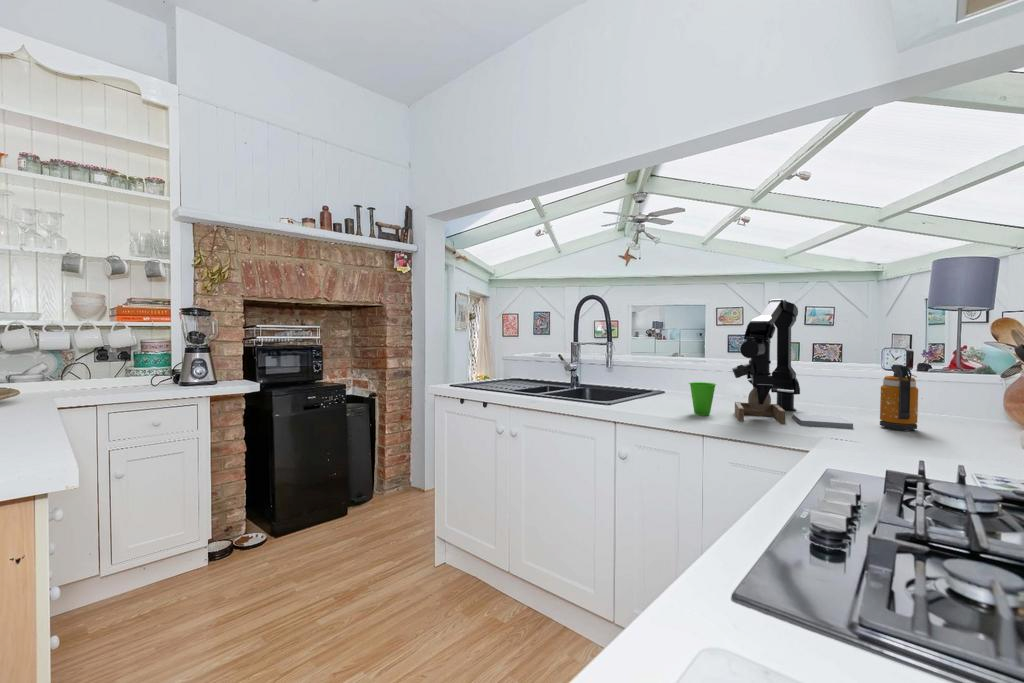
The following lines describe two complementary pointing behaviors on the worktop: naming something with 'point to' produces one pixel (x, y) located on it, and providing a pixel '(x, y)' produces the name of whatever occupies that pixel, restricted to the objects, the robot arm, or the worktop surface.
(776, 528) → the worktop surface
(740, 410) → the holder
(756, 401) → the vase
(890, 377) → the canister
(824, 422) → the board
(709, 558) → the worktop surface
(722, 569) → the worktop surface
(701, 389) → the cup
